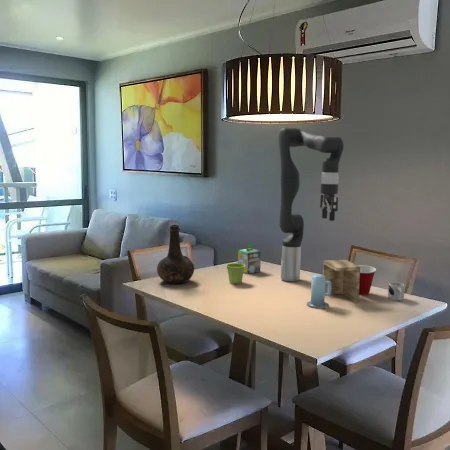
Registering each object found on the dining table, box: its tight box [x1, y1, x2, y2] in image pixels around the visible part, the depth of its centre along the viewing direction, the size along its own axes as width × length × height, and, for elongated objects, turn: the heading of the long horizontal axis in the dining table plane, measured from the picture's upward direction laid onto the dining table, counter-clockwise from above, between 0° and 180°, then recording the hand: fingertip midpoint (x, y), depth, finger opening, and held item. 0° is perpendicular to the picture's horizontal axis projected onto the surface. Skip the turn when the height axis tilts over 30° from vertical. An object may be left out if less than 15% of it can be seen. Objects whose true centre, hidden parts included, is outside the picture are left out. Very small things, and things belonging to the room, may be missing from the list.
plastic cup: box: [358, 264, 377, 296], centre depth 225 cm, size 11×11×12 cm
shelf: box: [322, 259, 360, 303], centre depth 218 cm, size 11×14×15 cm
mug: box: [387, 281, 406, 302], centre depth 216 cm, size 10×7×7 cm
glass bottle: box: [156, 224, 195, 285], centre depth 241 cm, size 18×18×28 cm
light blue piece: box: [310, 273, 332, 306], centre depth 207 cm, size 8×6×12 cm
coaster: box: [306, 300, 330, 310], centre depth 207 cm, size 9×9×1 cm
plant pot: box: [225, 262, 245, 285], centre depth 242 cm, size 9×9×9 cm
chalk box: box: [237, 243, 262, 275], centre depth 266 cm, size 9×9×15 cm
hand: (328, 219), depth 220 cm, fingers open, 8 cm apart
